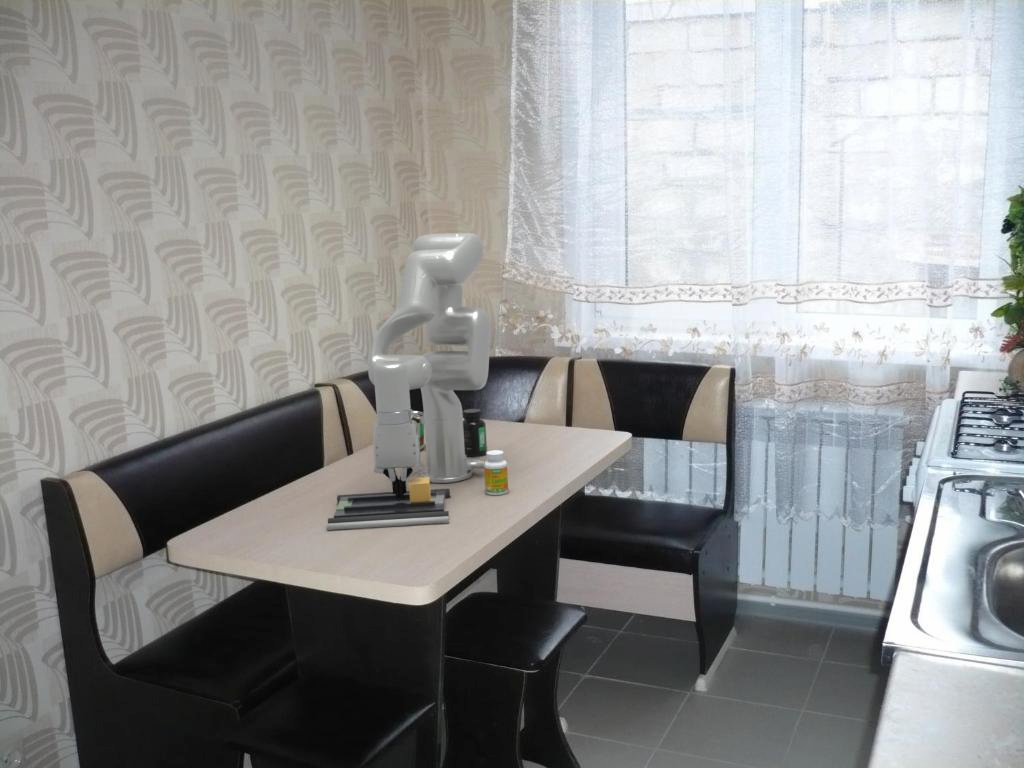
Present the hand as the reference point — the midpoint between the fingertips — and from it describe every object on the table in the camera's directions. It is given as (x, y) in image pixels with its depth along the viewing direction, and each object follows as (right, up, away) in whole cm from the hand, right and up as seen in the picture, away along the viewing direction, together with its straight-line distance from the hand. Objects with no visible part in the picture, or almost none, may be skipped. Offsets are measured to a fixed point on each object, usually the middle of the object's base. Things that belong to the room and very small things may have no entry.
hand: (400, 496), depth 237 cm
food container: (-2, +7, +57) cm, 57 cm away
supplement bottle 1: (+15, +6, +46) cm, 49 cm away
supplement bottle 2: (+22, 0, +11) cm, 24 cm away
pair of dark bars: (-2, -3, 0) cm, 4 cm away
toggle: (+5, -1, 0) cm, 5 cm away
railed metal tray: (-2, -3, 0) cm, 4 cm away
